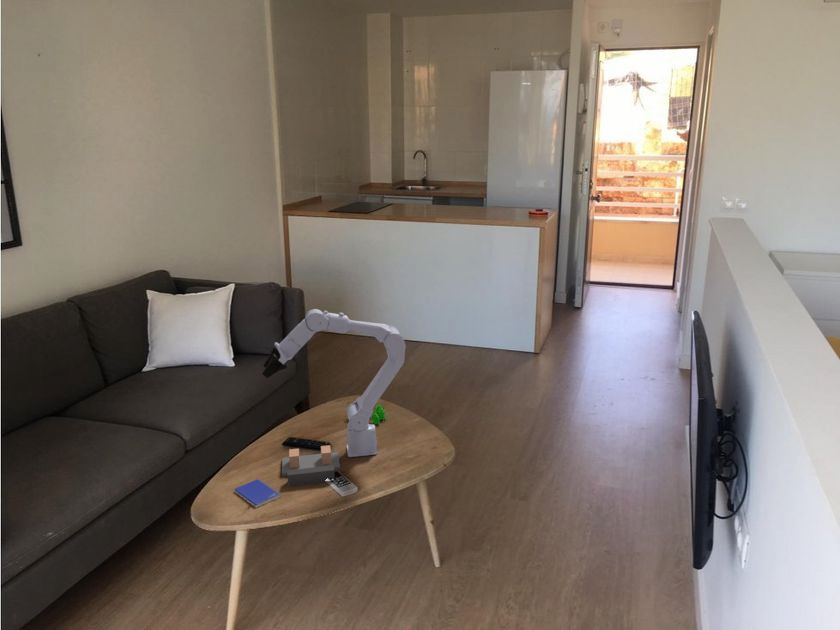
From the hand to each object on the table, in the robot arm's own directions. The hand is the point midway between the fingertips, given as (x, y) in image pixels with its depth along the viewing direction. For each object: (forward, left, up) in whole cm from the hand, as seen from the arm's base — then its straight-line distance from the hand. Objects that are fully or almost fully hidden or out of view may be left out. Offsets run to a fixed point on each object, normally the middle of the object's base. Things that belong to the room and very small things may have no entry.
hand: (265, 371), depth 206 cm
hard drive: (+4, +19, -32) cm, 37 cm away
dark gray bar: (-12, +15, -31) cm, 37 cm away
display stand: (-12, +5, -31) cm, 34 cm away
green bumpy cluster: (-33, -25, -32) cm, 52 cm away
